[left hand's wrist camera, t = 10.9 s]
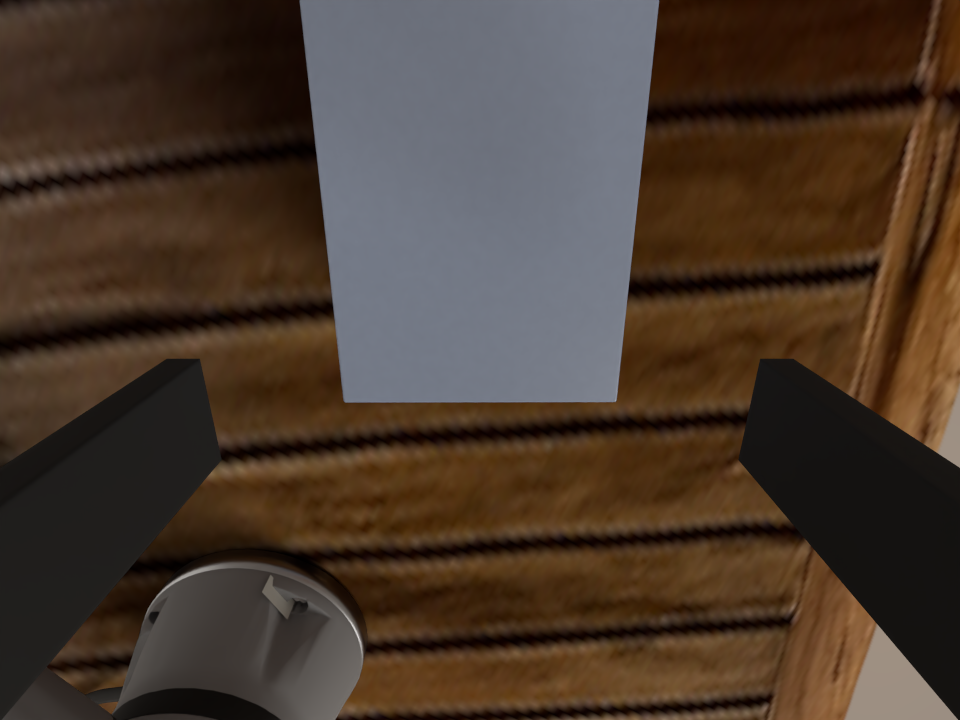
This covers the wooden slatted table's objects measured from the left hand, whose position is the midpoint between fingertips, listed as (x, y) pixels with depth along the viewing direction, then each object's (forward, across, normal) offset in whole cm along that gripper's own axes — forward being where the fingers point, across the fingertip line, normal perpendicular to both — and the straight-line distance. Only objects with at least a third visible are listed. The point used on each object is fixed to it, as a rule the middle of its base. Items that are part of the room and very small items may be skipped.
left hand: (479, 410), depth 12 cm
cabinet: (+17, 0, -6) cm, 18 cm away
